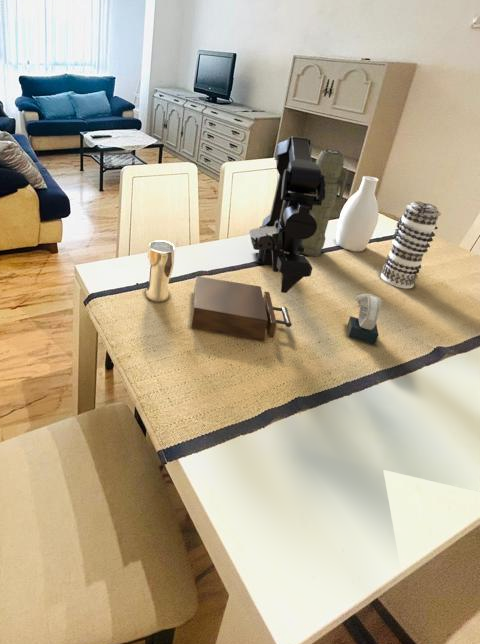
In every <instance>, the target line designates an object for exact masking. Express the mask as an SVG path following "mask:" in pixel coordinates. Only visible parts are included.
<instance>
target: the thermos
mask: <svg viewBox="0 0 480 644" xmlns="http://www.w3.org/2000/svg"><path fill="white" fill-rule="evenodd" d="M344 156H345V155H344V153H343V152H342V151H341V150H337V149H331V148H325V149H322V150H321V151H320V153H319V154H318V156H317V158H316V160H315V162H314V161H312V162H313V163H315V164H317V165H319V167H320V169H321V172H322V174H323V175H324V179H325V180H326V184H325V199H324V200H322V204H321V206H319V205H313V207H312V213H313V215H314V218H315V220H316V223H317V229H316V232H315V233H314V234H313V235H312V236H311V237H310V238H307V239H303V243H302V245H303V247H304V252H299V253H300V254H302V255H303V256H309V257H319V256H320V255H321V254H322V250H323V248H324V246H325V242H326V231H327V228H328V224H329V221H330V217H331V213H332V210H333V208H334V207H335V205H336V202H337V201H339V200H342V199H343V196H344V193H345V190H346V185H347V182H348V180H349V176H350V172H349V170H348V168H346V167H344V165H345V164H344V161H345V157H344ZM342 172H344V175H343V178H342V183H341V186H340V189H339V183H340V181H339V180H340V178H341V176H342ZM305 195H310V194H305ZM310 196H316V197H317V190H316V195H310ZM316 199H317V198H316Z"/></svg>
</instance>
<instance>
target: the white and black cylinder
mask: <svg viewBox="0 0 480 644" xmlns="http://www.w3.org/2000/svg"><path fill="white" fill-rule="evenodd" d="M441 215H442V213H441V212H440V211H439V210H438V207H437V206H435V205H433V204H431V203H428V202H425V201H424V202H423V201H414V202H411V203H410V204H406V205H405V209H404V213H403V214H402V216H400V217H399V218H398V219H397V223H396V228H395V229H394V230H395V231H394V233H393V236H392V238H394V239H392V247H391V249H390V251H389V253H388V254H387V256H386V259H385V263H383V267H382V270H381V273H380V278H381V279H382V280H383V281H384V282H386V283H387V284H389V285H392V286H393V287H397V288H400V289H412V288H413V287H415V283H416V281H417V279H418V274H419V273H420V269H422V262H423V257H424V254H426V253H428V249H429V248H431V245H430V243H431V242H433V241H434V238H433V237H436V234H435V232H433V231H434V230H435V231H436V230H438V228H439V227H438V226H437V222H438V218H439V217H440V216H441Z"/></svg>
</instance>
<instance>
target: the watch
mask: <svg viewBox="0 0 480 644" xmlns="http://www.w3.org/2000/svg"><path fill="white" fill-rule="evenodd" d="M355 300H356V301H357V305H358V308H359V309H358V317H355V316H349V319H348V323H347V326H346V327H347V338H350V339H353V340H356V341H359V342H362V343H365V344H369V345H373V346H376V343H377V341H378V338H379V329H378V326H377V320H378V317H379V312H380V308H381V307H382V299H381V298H380V297H379V296H377V295H375V294H372V293H361V294H358V295H357V296H355Z"/></svg>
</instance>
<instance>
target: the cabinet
mask: <svg viewBox="0 0 480 644" xmlns="http://www.w3.org/2000/svg"><path fill="white" fill-rule="evenodd" d="M263 296H264V294H263V290H262V286H260V285H256V284H255V285H253V284H248V283H242V282H237V281H229V280H223V279H216V278H211V277H205V276H199V275H196V276H195V283H194V290H193V299H192V313H191V329H194V330H200V331H205V332H209V333H215V334H220V335H226V336H233V337H237V338H243V339H248V340H253V341H259V342H264V339H265V335H266V332H267V330H266V326H267V322H268V319H267V314H266V309H265V304H264V300H263Z"/></svg>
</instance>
